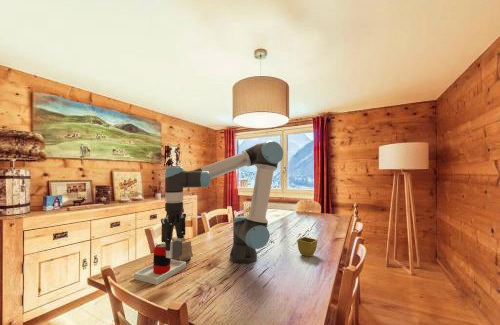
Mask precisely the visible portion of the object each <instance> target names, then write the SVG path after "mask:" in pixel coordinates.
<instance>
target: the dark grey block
mask: <svg viewBox="0 0 500 325" xmlns="http://www.w3.org/2000/svg"><path fill="white" fill-rule="evenodd" d="M181 255H182V241H175V242H173V247H172V258H170V259H173V260H176V259H177V258H178V257H180V256H181ZM165 258H166V250H165ZM178 259H179V258H178Z"/></svg>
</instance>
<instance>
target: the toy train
mask: <svg viewBox="0 0 500 325" xmlns="http://www.w3.org/2000/svg"><path fill="white" fill-rule="evenodd" d="M176 238H178V237H177V236H172V239H171V242H175V241H176ZM192 248H193V246H192V241H191V240H186V237H184V238H182V255H181V256H180V257H178V258H176V259H178V261H183V262H186V261H188V260H189V259H190V260H191V259H192V258H193V256H194V254H193V249H192Z"/></svg>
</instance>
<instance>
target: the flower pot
mask: <svg viewBox="0 0 500 325" xmlns="http://www.w3.org/2000/svg"><path fill="white" fill-rule="evenodd" d="M296 241H297V249H298V253H300V256H303V257H306V258H311V257H313V256H314V254H315V252H317V246H318V239H315V238H311V237H307V236H303V237H301V238H298V239H297V240H296Z"/></svg>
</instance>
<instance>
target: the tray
mask: <svg viewBox="0 0 500 325" xmlns="http://www.w3.org/2000/svg"><path fill="white" fill-rule="evenodd" d="M185 268H187V262H186V261H180V260H179V259H178V260H176V259H171V263H170V271H168V272H167V273H164V274H155V273H154V272H153V263H152V264H150V265H148V266H146V267H144V268H142V269H140V270H137V271H135V272H134V273H133V279H134V280H137V281H141V282H144V283H149V284H153V285H156V286H157V285H159V284H161V283H162V282H164V281H165V280H167V279H169V278H170V277H173V276H174V275H176V274H177V273H179V272H180V271H183V270H184V269H185Z"/></svg>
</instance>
